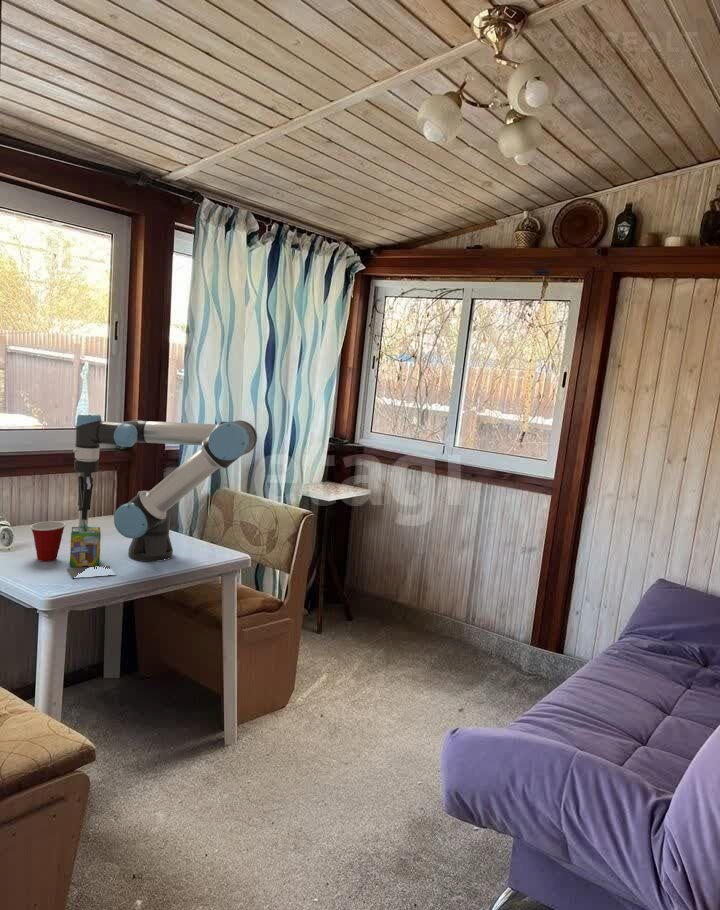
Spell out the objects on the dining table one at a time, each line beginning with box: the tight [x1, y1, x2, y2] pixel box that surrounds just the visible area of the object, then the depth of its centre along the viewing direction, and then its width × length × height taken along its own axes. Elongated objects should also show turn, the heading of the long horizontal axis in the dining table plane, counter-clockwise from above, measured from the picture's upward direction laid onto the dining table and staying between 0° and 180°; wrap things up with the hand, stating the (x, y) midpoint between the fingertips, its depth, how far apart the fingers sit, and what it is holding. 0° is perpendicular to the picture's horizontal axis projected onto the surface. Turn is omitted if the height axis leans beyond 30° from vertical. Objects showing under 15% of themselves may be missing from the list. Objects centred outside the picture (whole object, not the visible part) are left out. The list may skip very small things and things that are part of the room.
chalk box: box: [69, 519, 102, 568], centre depth 227 cm, size 9×9×15 cm
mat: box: [66, 565, 111, 579], centre depth 219 cm, size 13×10×1 cm
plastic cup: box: [29, 520, 67, 562], centre depth 227 cm, size 11×11×12 cm
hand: (82, 528), depth 231 cm, fingers closed
